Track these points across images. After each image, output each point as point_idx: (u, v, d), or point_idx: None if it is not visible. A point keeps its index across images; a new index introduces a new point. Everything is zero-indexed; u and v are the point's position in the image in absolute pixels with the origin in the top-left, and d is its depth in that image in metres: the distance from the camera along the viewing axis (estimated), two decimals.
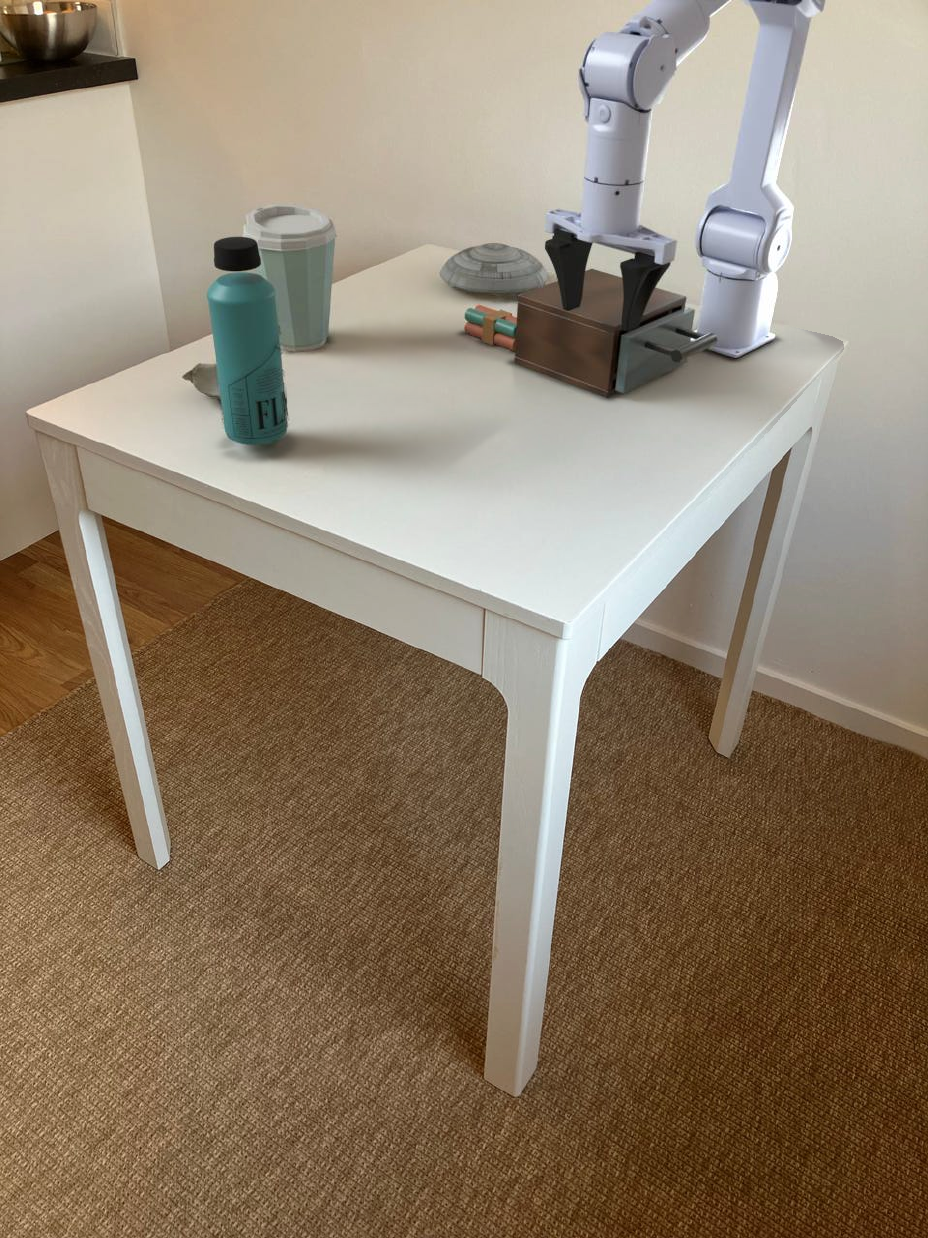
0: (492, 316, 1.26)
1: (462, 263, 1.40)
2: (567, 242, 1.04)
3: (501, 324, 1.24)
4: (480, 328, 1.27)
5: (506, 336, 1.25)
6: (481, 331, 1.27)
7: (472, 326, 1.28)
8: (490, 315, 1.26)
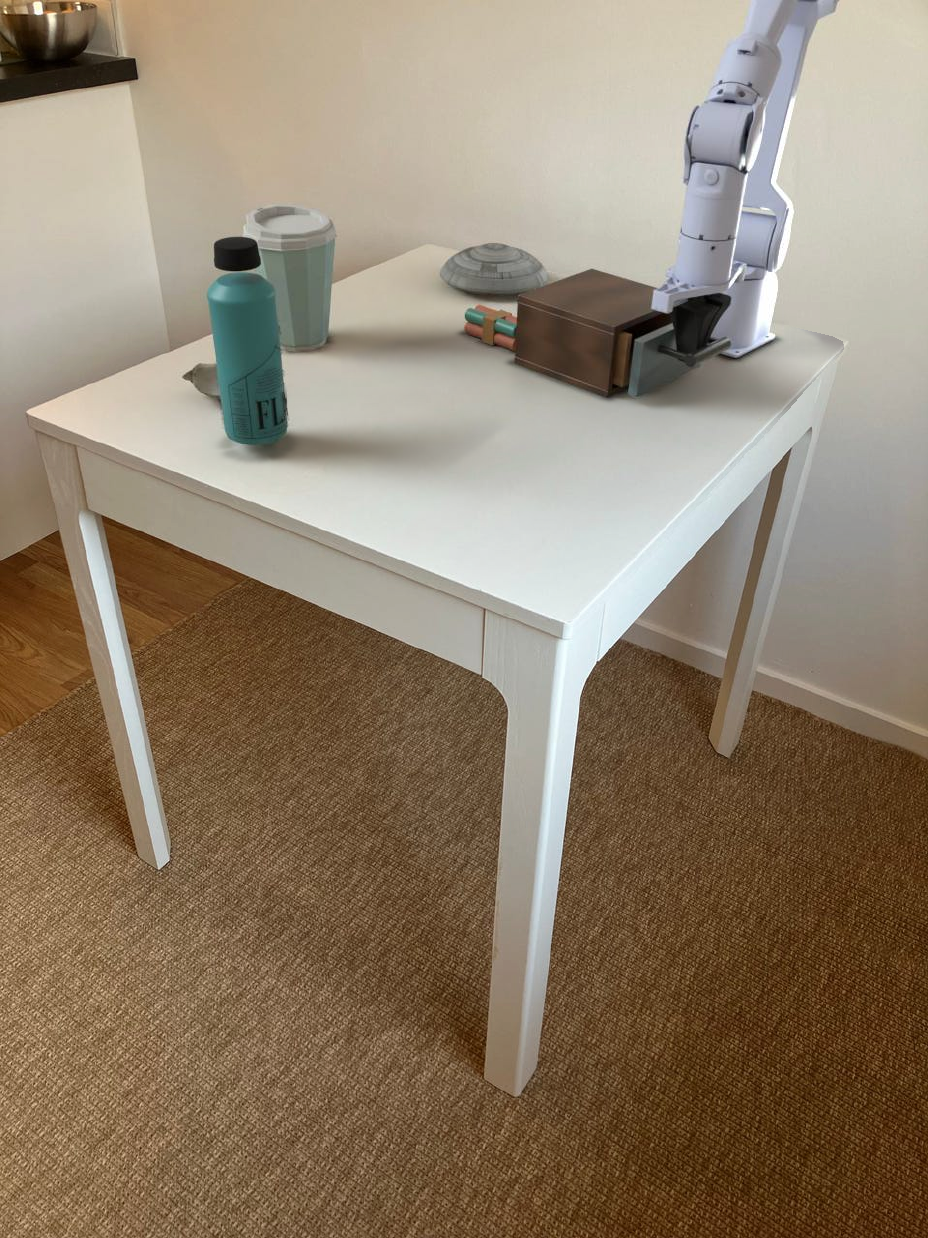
0: (492, 316, 1.26)
1: (462, 263, 1.40)
2: None
3: (501, 324, 1.24)
4: (480, 328, 1.27)
5: (506, 336, 1.25)
6: (481, 331, 1.27)
7: (472, 326, 1.28)
8: (490, 315, 1.26)
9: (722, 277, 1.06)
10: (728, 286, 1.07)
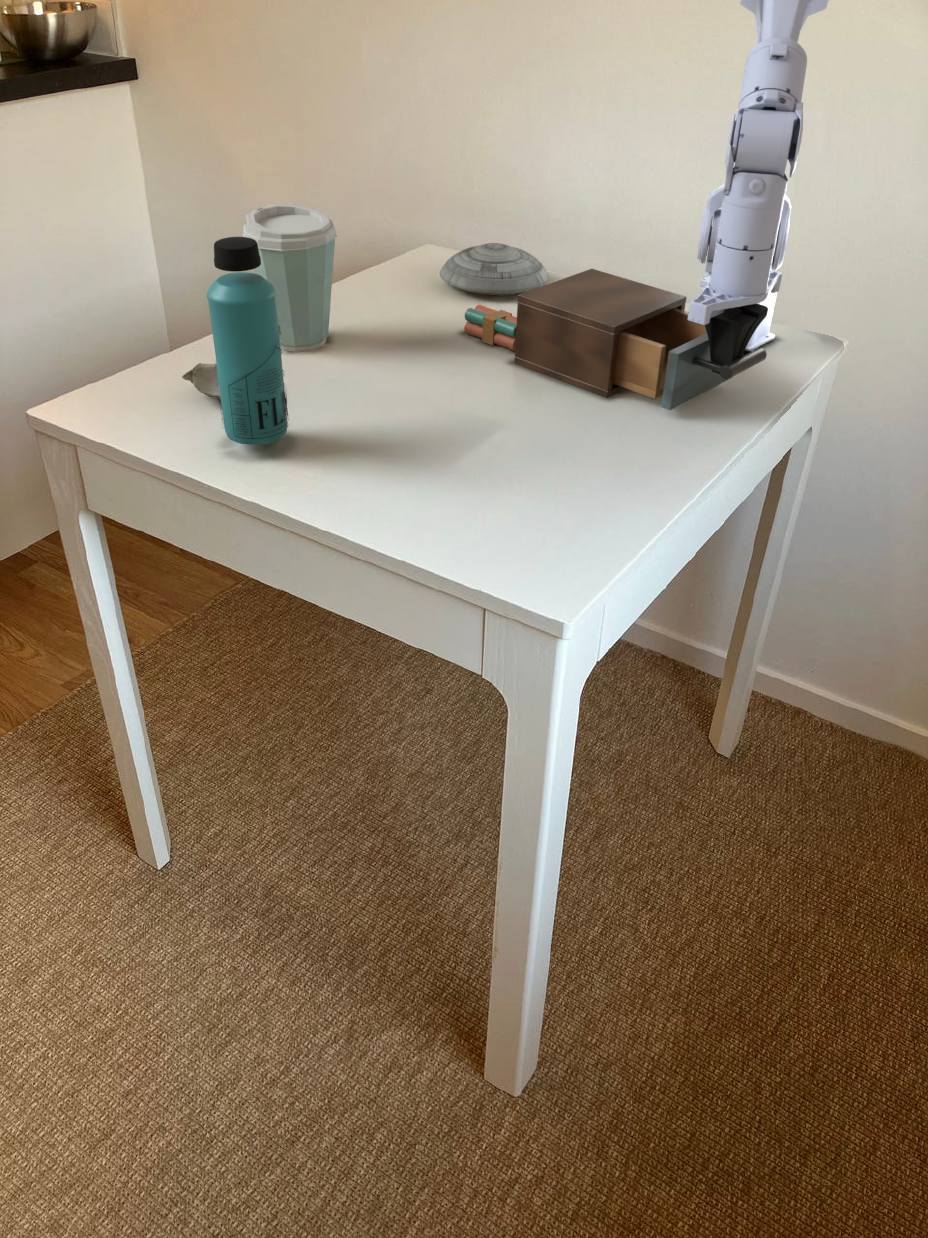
0: (492, 316, 1.26)
1: (462, 263, 1.40)
2: None
3: (501, 324, 1.24)
4: (480, 328, 1.27)
5: (506, 336, 1.25)
6: (481, 331, 1.27)
7: (472, 326, 1.28)
8: (490, 315, 1.26)
9: (759, 288, 1.03)
10: (765, 297, 1.05)
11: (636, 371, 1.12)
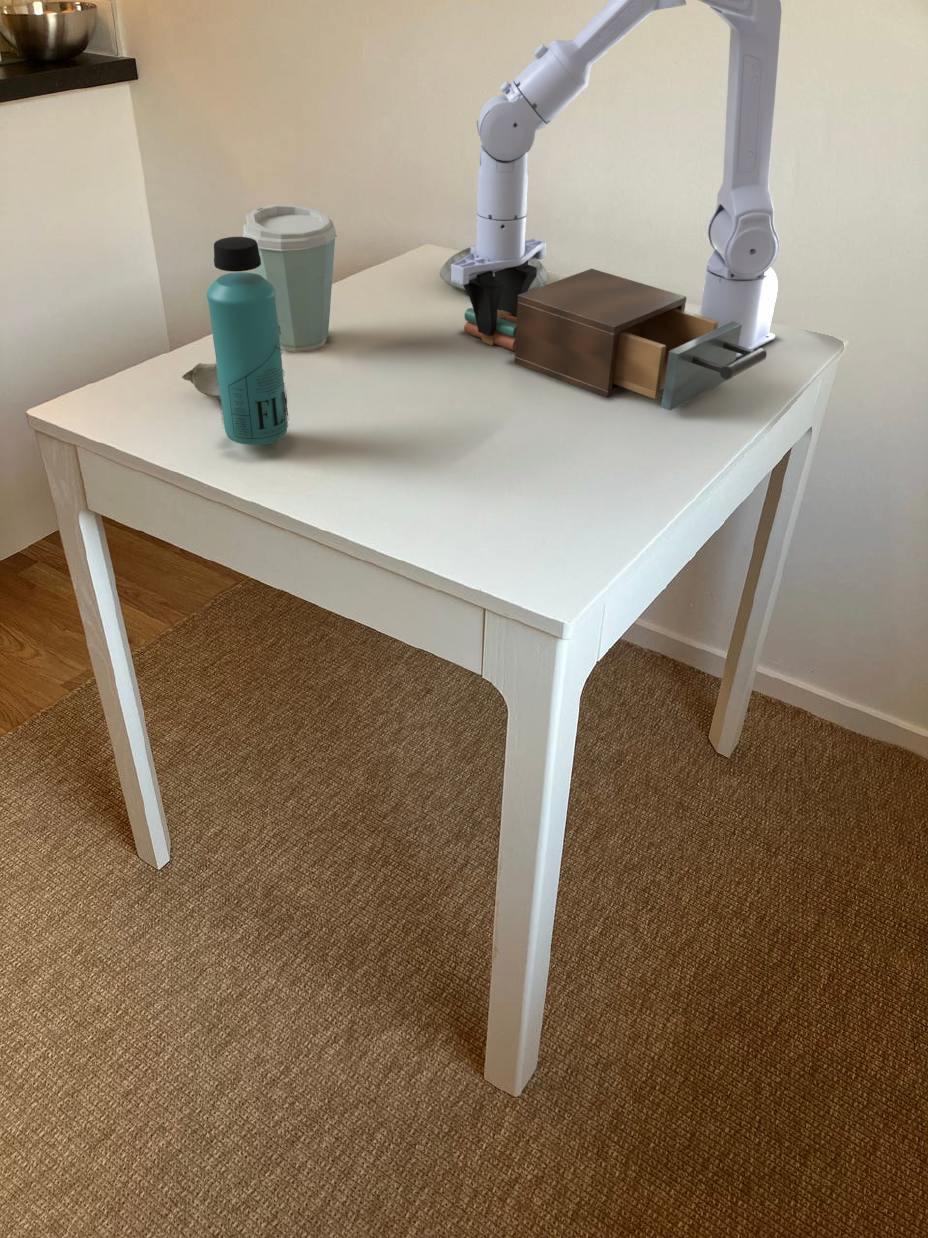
0: None
1: None
2: None
3: (501, 324, 1.24)
4: None
5: (506, 336, 1.25)
6: None
7: (472, 326, 1.28)
8: None
9: (514, 253, 1.19)
10: (522, 261, 1.21)
11: (636, 371, 1.12)
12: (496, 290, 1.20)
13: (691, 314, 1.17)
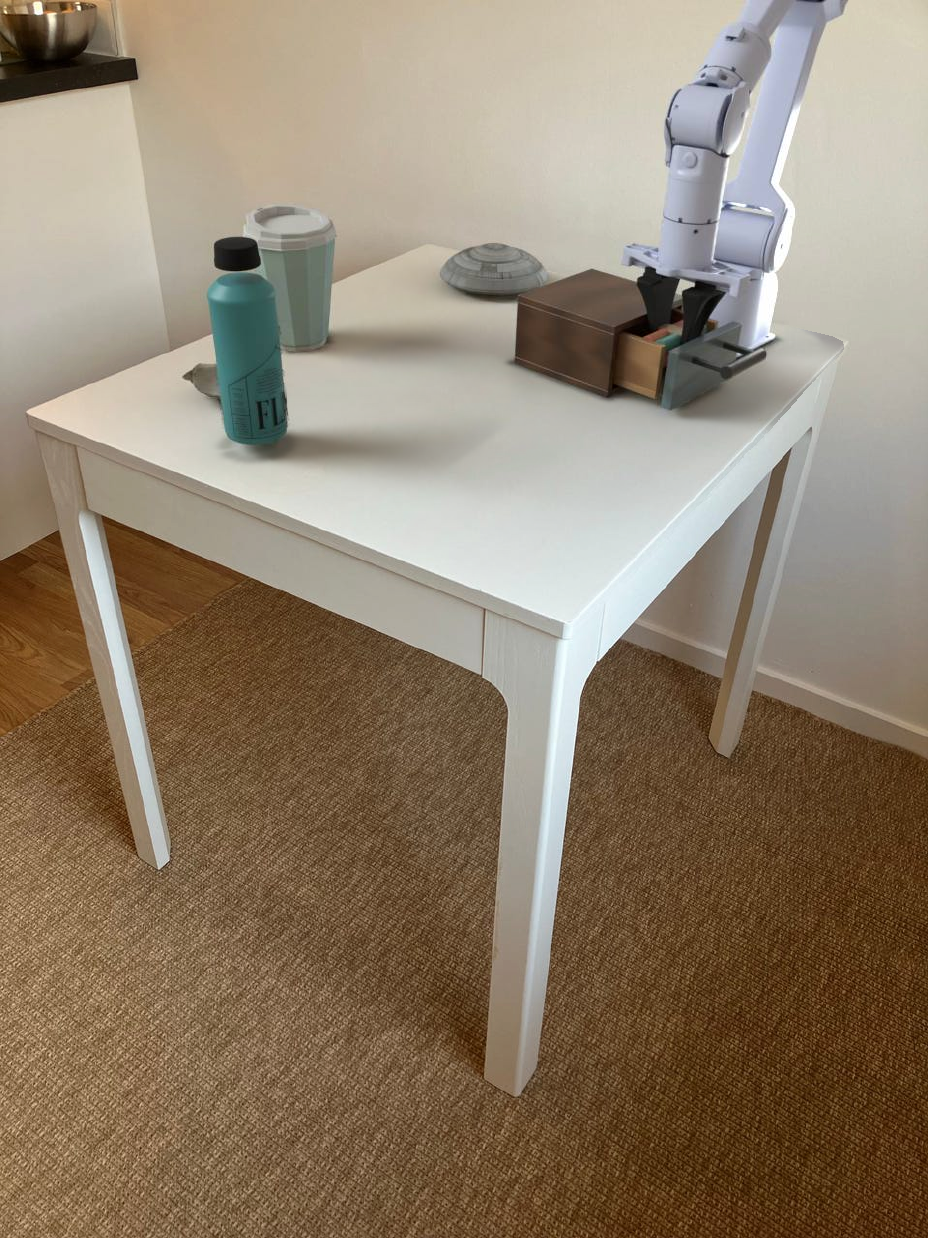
0: None
1: (462, 263, 1.40)
2: (658, 279, 1.11)
3: None
4: None
5: None
6: None
7: None
8: (679, 332, 1.12)
9: None
10: None
11: (636, 371, 1.12)
12: None
13: None
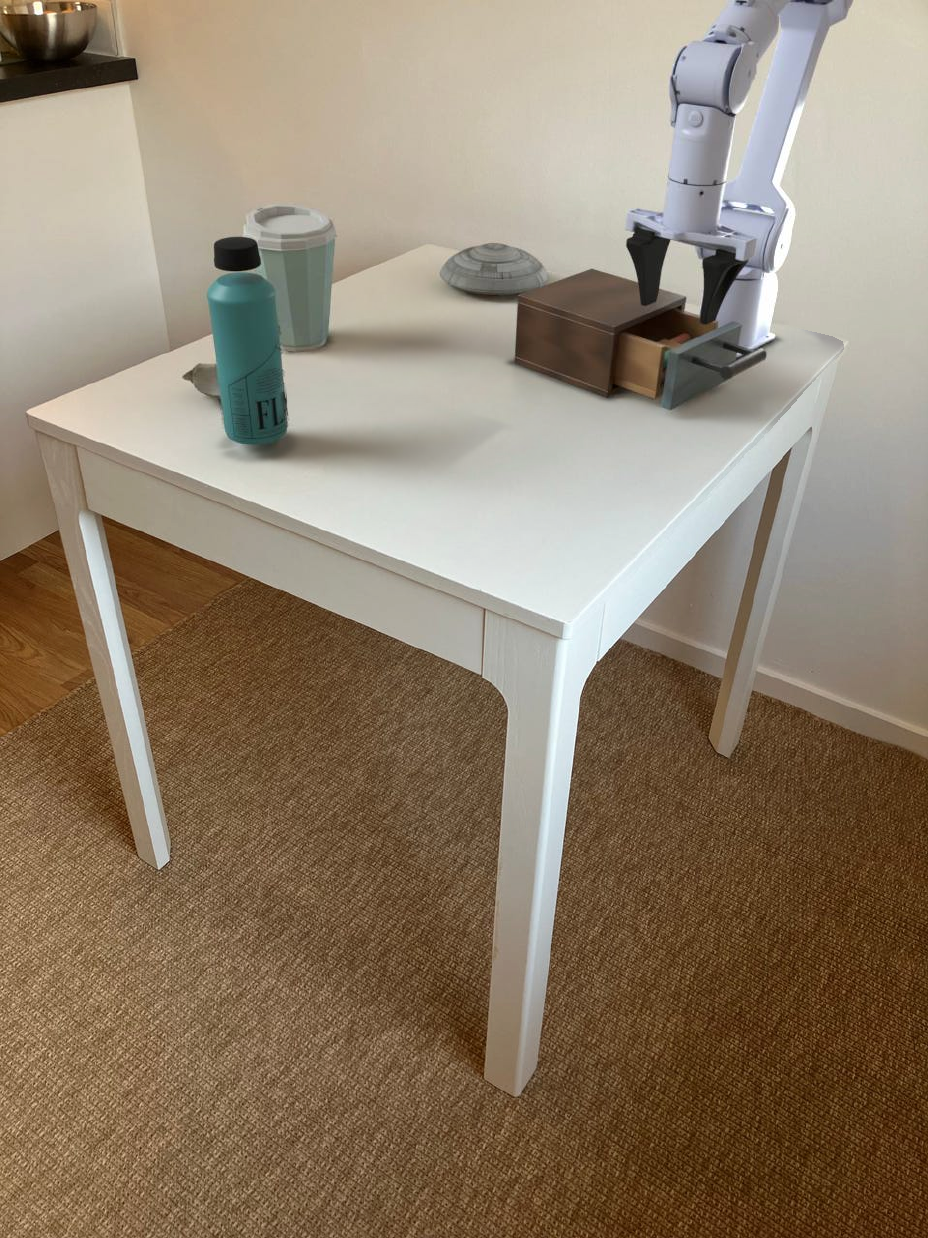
0: None
1: (462, 263, 1.40)
2: (648, 240, 1.09)
3: None
4: None
5: None
6: None
7: None
8: (676, 347, 1.13)
9: None
10: None
11: (636, 371, 1.12)
12: None
13: (691, 314, 1.17)
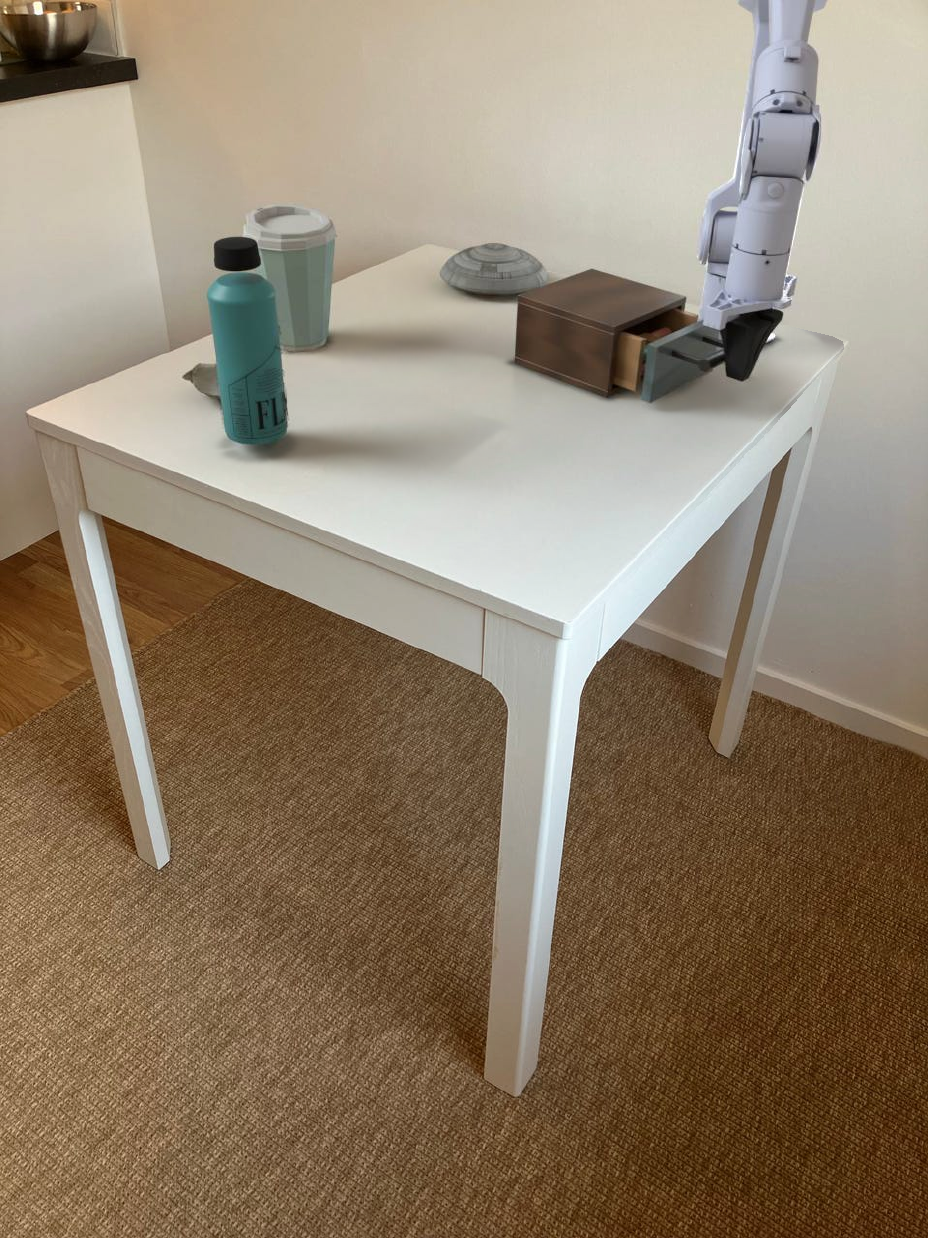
0: None
1: (462, 263, 1.40)
2: (755, 317, 1.05)
3: None
4: None
5: None
6: None
7: None
8: None
9: None
10: None
11: (616, 364, 1.14)
12: None
13: None
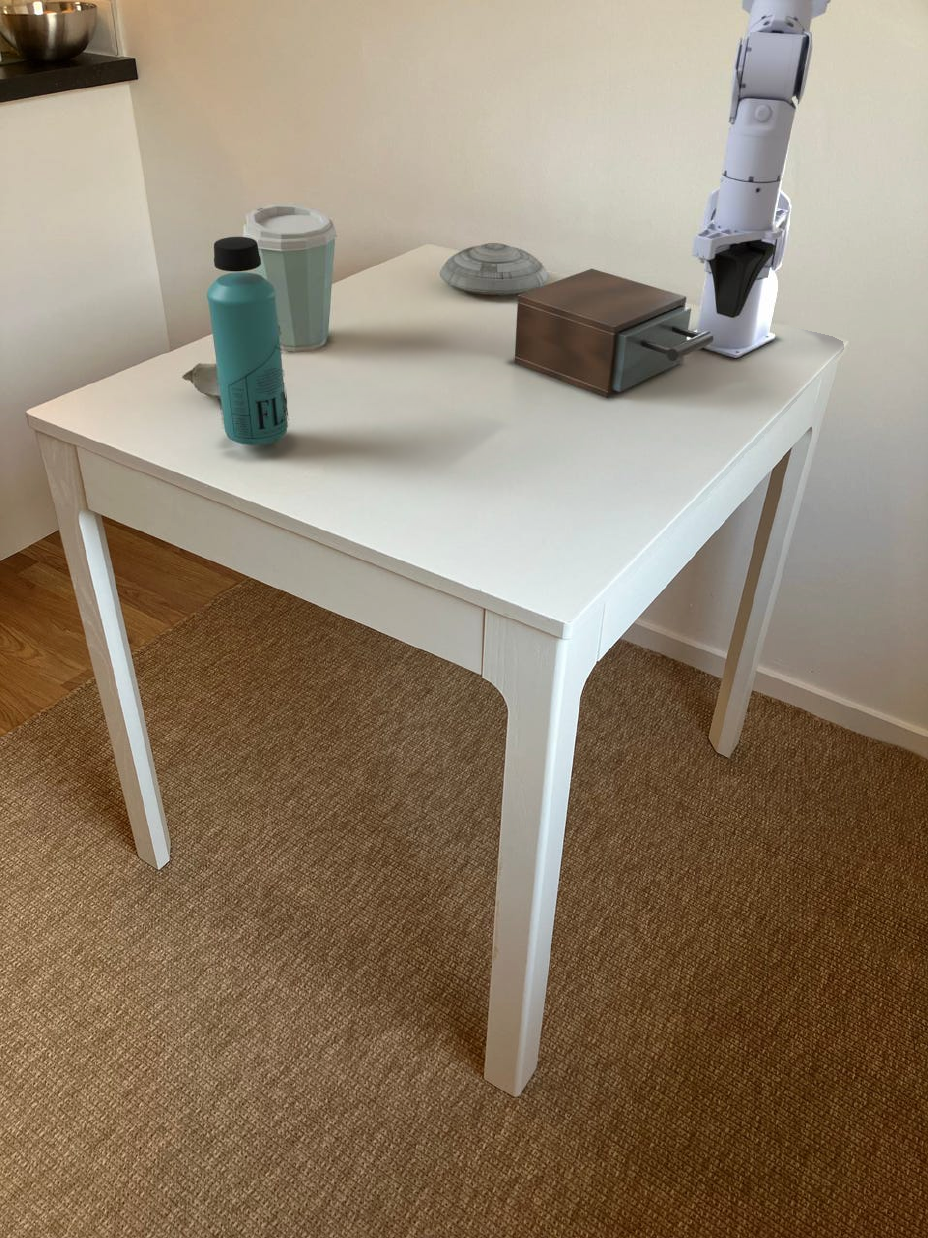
0: None
1: (462, 263, 1.40)
2: (746, 249, 1.03)
3: None
4: None
5: None
6: None
7: None
8: None
9: None
10: None
11: None
12: None
13: None
